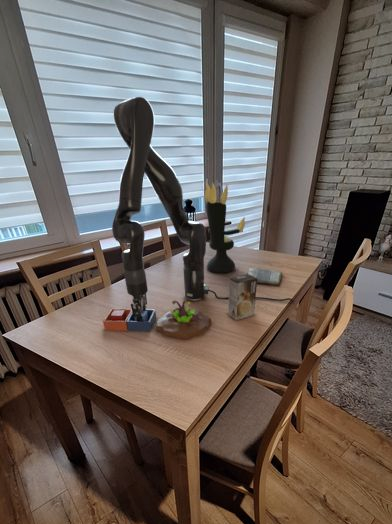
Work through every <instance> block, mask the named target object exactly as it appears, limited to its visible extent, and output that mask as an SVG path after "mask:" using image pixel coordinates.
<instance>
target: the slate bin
mask: <svg viewBox="0 0 392 524" xmlns="http://www.w3.org/2000/svg"><path fill="white" fill-rule="evenodd" d="M146 311H148V319H149V321H135V320H134V316H133V312H132V313H131V315H130V317H129V318H128V320H127V326H128V332H129V331H130V332H152V329H153V327H154V325H155V321H156V320H157V314H156V313H157V312H156V309H154V308H153V309H152V308H151V309H150V308H146Z"/></svg>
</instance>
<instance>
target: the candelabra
mask: <svg viewBox="0 0 392 524" xmlns="http://www.w3.org/2000/svg"><path fill="white" fill-rule="evenodd" d="M214 183H215V182H212V185H211V187H210V185H209V183H208V182H206V185H205V186H206V188H205V191H204V200H205V212H206V217H207V218H206V219H207V224H208V229H207V232H208V234H209V237H210V241H209V244H208V245H209V247H210V249H212V250H214V251H216V253H215V255H214V256H213V257H212V258H211V259H210V260H208V262H207V264H206V268H207V270H208V271H210V272H212V273H221V274H222V273H223V274H224V273H225V274H226V273H229V272H232V271H234V270H235V268H236V263H235V262H234V260H233V259H232V258H231V257H230V256H229V255H228V254H227V251H229V250H232V249H233V248H234V246H235V242H234V241H233V239H232V238H230V236H232V235H236V234H240V233H244V228H245V227H246V226H245V225H246V218H245V216H243V218H241V220H240V221H239V222H238V224H237V227H236V228H234V229H230V230H225V229H226V218H227V217H226V216H227V204H226V203H227V199H228V193H229V190H228V184H226V185H225V187H224V189H223V191H222V193H221V196H220V199H219V201H220V202H217V189H216V186H215V184H214Z"/></svg>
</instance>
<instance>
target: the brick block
mask: <svg viewBox="0 0 392 524" xmlns="http://www.w3.org/2000/svg"><path fill="white" fill-rule="evenodd" d="M111 319H112V321H125V320H126V314H125V311H122V310H114V311H113V313H112V314H111Z"/></svg>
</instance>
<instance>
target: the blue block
mask: <svg viewBox="0 0 392 524" xmlns="http://www.w3.org/2000/svg"><path fill="white" fill-rule="evenodd" d="M142 318H143V321H149V319H148V311H142ZM134 320H135V321H137V319H136V317H134Z"/></svg>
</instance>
